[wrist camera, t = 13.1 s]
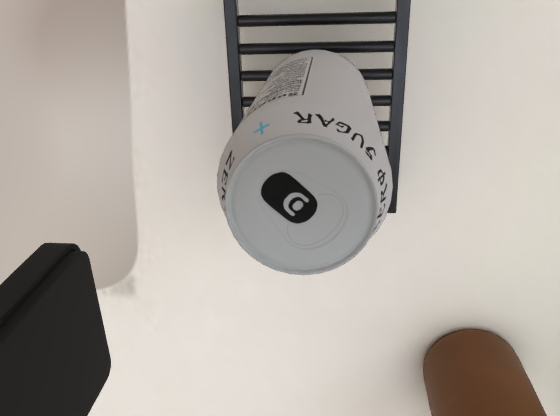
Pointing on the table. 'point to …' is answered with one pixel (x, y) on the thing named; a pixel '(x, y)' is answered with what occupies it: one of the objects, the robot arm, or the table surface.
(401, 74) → the rack
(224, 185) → the energy drink can
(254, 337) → the table surface
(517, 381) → the mug
